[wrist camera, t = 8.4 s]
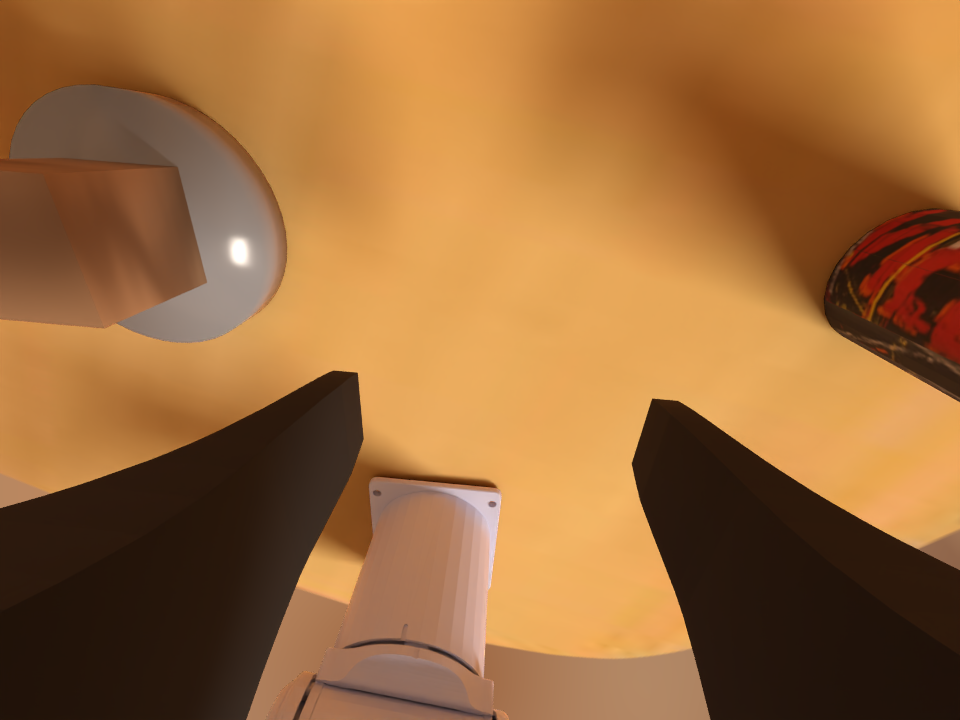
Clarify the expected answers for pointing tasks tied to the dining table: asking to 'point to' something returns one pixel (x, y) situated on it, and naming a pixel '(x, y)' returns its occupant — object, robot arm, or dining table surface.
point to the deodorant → (904, 296)
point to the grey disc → (208, 190)
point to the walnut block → (92, 240)
